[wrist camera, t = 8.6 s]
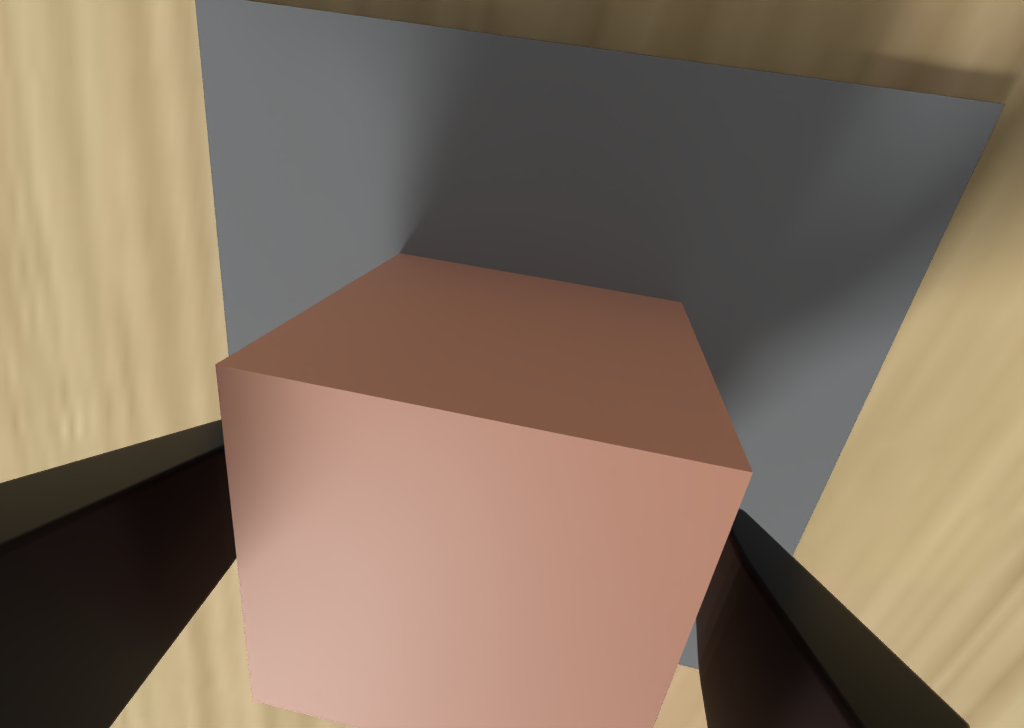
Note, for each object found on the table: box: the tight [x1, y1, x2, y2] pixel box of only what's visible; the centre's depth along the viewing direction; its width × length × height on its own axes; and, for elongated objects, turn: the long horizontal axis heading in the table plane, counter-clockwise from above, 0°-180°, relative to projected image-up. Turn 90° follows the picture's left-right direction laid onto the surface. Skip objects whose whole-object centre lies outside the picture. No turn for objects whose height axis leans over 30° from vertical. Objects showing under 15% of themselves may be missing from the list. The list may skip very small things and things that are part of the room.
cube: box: [216, 253, 753, 728], centre depth 8 cm, size 5×5×5 cm
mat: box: [195, 0, 1005, 669], centre depth 11 cm, size 12×12×1 cm
